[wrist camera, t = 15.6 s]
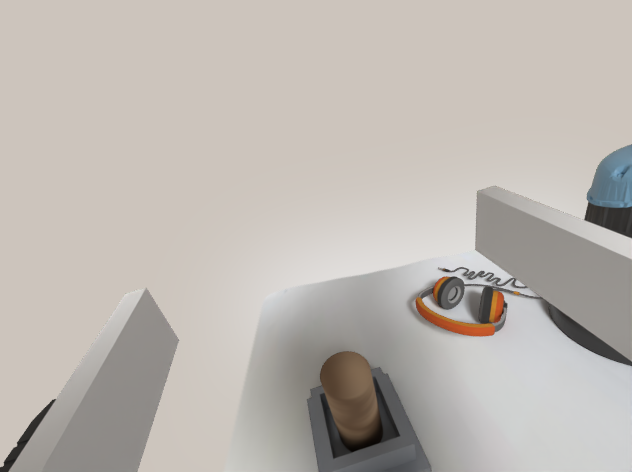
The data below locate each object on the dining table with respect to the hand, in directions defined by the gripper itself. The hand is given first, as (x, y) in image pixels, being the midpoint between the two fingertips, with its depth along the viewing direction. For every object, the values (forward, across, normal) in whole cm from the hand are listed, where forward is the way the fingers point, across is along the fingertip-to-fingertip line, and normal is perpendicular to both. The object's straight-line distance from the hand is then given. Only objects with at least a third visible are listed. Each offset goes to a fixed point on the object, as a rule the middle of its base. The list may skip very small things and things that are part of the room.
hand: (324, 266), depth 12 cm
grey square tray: (+10, 0, -30) cm, 32 cm away
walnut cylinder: (+10, 0, -29) cm, 31 cm away
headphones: (+22, +23, -30) cm, 44 cm away
